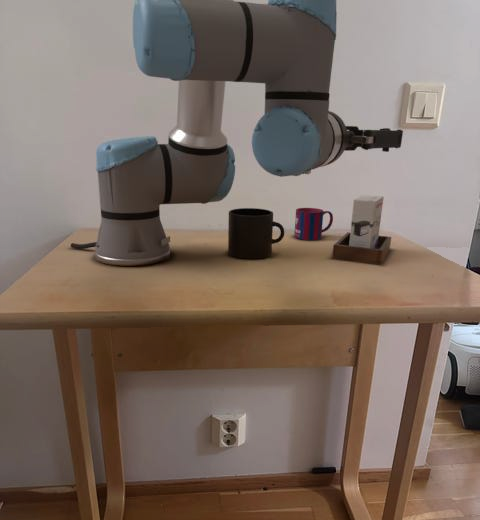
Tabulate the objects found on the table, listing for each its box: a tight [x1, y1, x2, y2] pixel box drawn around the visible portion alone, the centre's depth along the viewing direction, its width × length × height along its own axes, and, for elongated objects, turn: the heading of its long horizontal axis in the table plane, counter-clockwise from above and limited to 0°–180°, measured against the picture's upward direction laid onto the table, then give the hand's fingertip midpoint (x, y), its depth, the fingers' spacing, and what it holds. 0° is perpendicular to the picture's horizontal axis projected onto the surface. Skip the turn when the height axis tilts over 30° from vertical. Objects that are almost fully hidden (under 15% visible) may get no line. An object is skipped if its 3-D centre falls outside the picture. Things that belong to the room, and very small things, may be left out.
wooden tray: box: [331, 231, 392, 266], centre depth 107 cm, size 10×14×3 cm
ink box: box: [349, 194, 384, 249], centre depth 105 cm, size 8×5×12 cm, turn 154°
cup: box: [293, 207, 334, 241], centre depth 121 cm, size 7×10×7 cm
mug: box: [227, 207, 285, 260], centre depth 104 cm, size 9×12×9 cm
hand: (346, 135), depth 85 cm, fingers open, 13 cm apart
